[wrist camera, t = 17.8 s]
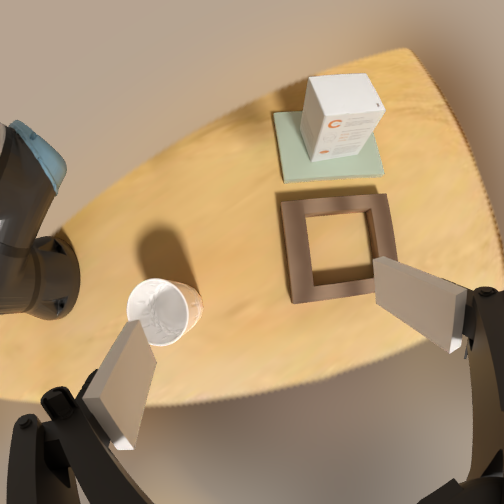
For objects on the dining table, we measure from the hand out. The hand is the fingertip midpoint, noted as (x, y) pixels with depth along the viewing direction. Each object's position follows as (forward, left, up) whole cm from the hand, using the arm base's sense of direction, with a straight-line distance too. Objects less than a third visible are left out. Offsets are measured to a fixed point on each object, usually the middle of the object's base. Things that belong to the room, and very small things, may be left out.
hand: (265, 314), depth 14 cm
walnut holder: (+11, +5, -26) cm, 29 cm away
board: (+12, +22, -26) cm, 36 cm away
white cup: (-13, -1, -26) cm, 29 cm away
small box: (+12, +22, -24) cm, 35 cm away
